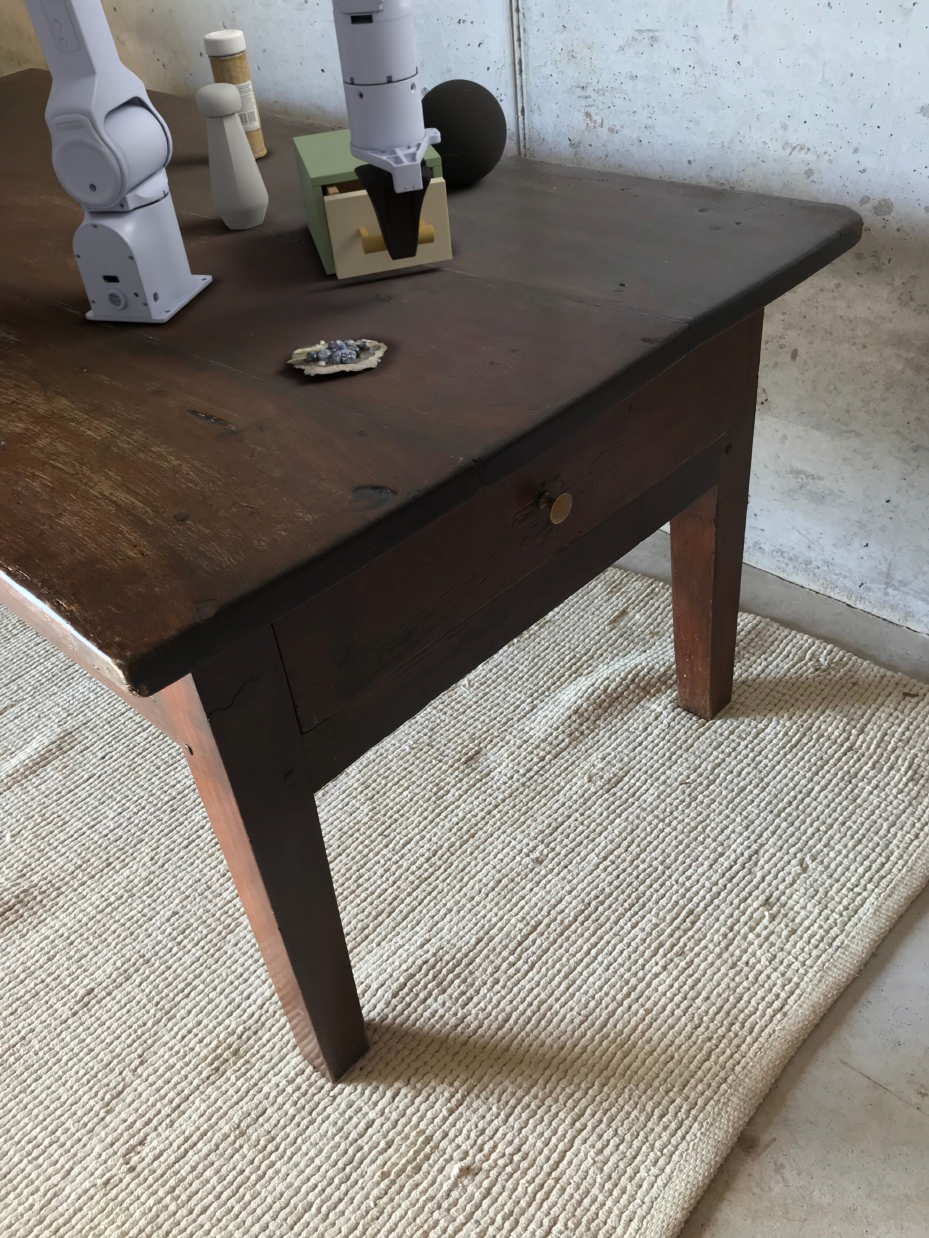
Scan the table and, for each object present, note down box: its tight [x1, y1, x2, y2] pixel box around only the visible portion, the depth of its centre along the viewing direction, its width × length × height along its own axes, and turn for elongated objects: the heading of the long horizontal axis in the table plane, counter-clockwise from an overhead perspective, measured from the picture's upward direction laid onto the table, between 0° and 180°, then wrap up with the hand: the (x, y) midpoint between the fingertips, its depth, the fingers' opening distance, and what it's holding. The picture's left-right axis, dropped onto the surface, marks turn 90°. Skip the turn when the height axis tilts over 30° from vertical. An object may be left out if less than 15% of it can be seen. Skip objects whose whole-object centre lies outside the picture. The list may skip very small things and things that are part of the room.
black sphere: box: [421, 78, 508, 186], centre depth 108 cm, size 10×10×10 cm
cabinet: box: [292, 128, 443, 276], centre depth 97 cm, size 14×12×9 cm
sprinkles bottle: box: [203, 29, 267, 160], centre depth 121 cm, size 5×5×14 cm
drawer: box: [321, 177, 453, 280], centre depth 92 cm, size 17×10×7 cm, turn 14°
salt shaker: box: [195, 82, 269, 230], centre depth 103 cm, size 6×6×13 cm
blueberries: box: [286, 338, 388, 377], centre depth 79 cm, size 7×8×2 cm
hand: (402, 256), depth 85 cm, fingers closed
